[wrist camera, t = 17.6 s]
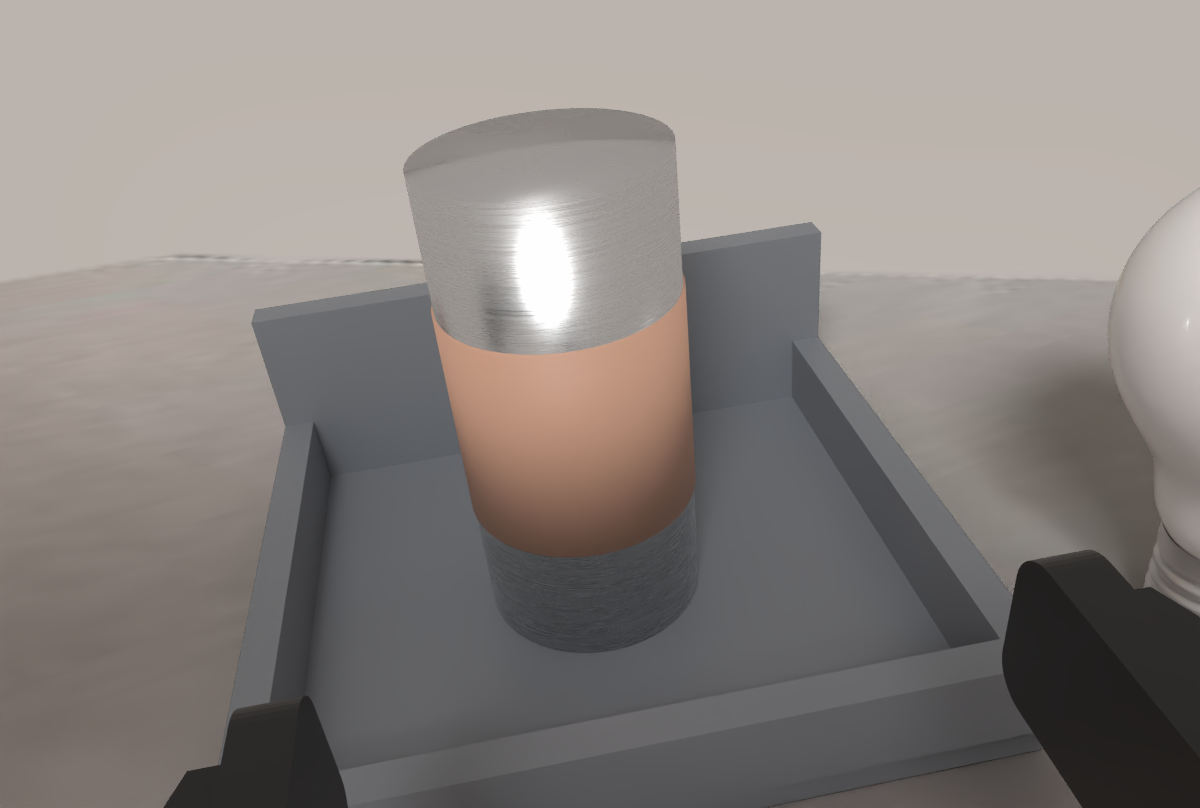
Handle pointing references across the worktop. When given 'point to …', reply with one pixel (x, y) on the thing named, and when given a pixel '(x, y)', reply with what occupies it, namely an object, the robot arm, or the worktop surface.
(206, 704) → the worktop surface
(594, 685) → the tote
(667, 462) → the tin can
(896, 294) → the worktop surface
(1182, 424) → the lightbulb
